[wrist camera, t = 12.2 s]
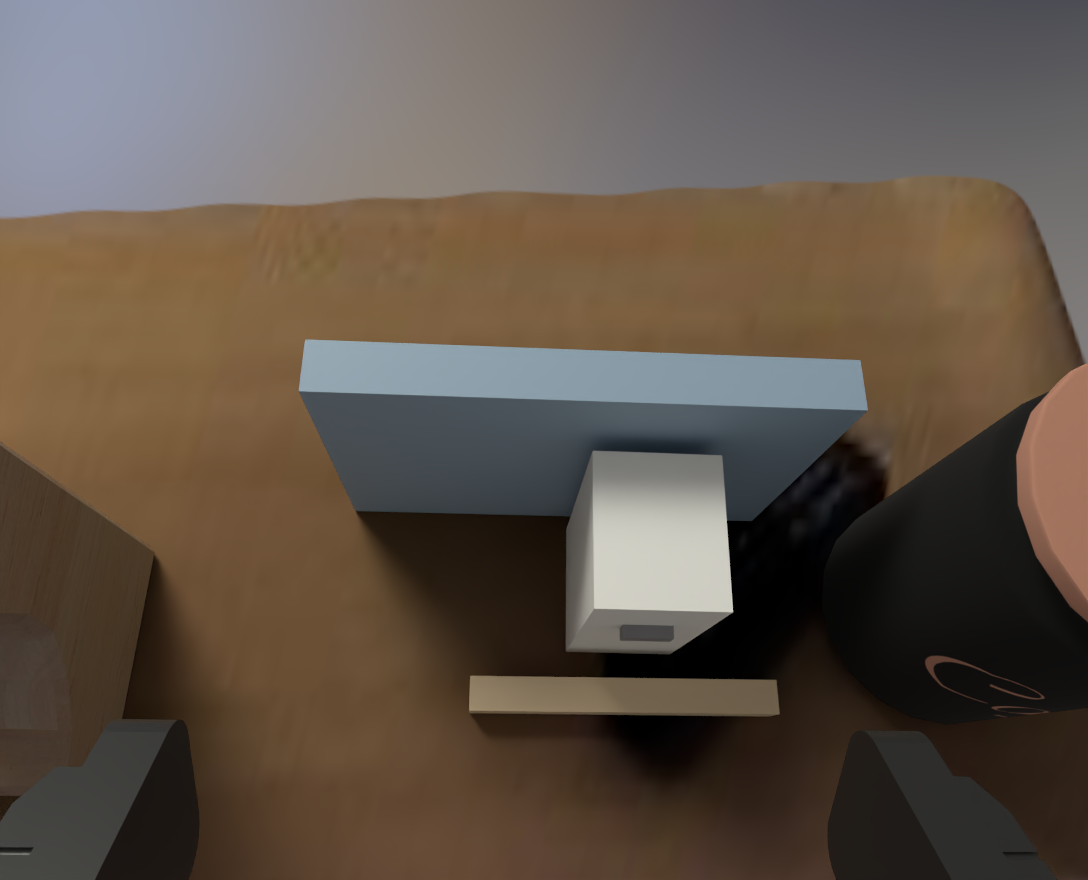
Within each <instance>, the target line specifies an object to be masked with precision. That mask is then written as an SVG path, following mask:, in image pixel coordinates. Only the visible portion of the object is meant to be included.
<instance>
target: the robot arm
mask: <svg viewBox="0 0 1088 880" xmlns="http://www.w3.org/2000/svg"><path fill="white" fill-rule="evenodd" d="M198 837H199V810H198V803H197V795H196V788H195V780H194V773H193V766H192V758H191V751H190V744H189V736H188V731H187V727H186V725H185V723H184V722H183V721H182V720H158V719H115V720H113V721H111V722H110V723H109V724H108V725H107V726H106V727H105V729H104V730H103V732H102V734H101V735H100V737H99V739H98V740H97V742H96V744H95V745H94V747H93V749H92V750H91V752H90V754H89V755H88V757H87V759H86V760H85V762H84V764H83V765H82V767H55V768H54V769H53V770H51V771H50V772H49V773H48V774H47V775H45V776H44V777H43V778H42V779H41V780H40V781H38V782H37V783H36V784H35V785H34V786H32V787H31V788H30V789H29V790H28V791H26V792H25V793H24V794H23V795H22V796H21V797H19V798H18V799H17V800H16V801H15V802H13V803H12V805H11V806H10V808H9V809H8V811H7V812H6V814H5V815H4V817H3V818H2V820H1V821H0V880H188V879H189V877H190V874H191V871H192V867H193V864H194V860H195V856H196V850H197V845H198ZM828 849H829V856H830V861H831V865H832V869H833V872H834V875H835V878H836V880H1057V879H1056V878H1055V876H1054V875H1053V873H1052V872H1051V870H1050V869H1049V867H1048V866H1047V864H1046V863H1045V862H1044V860H1039V858H1038V851H1037V850H1036V849H1035V847H1034V846H1033V844H1032V843H1031V841H1030V840H1029V838H1028V837H1027V836H1026V834H1025V833H1024V831H1023V830H1022V828H1021V827H1020V825H1019V824H1018V823H1017V821H1016V820H1015V818H1014V817H1013V815H1012V814H1011V812H1010V811H1009V810H1008V809H1006V808H1005V807H1004V806H1003V805H1002V804H1001V803H999V802H998V801H997V800H996V799H995V798H994V797H992V796H991V795H990V794H989V793H988V792H987V791H985V790H984V789H983V788H982V787H981V786H980V785H978V784H977V783H976V782H975V781H974V780H973V779H971V778H970V777H956V776H953V775H952V773H951V772H950V770H949V769H948V767H947V766H946V764H945V762H944V761H943V759H942V758H941V756H940V755H939V753H938V752H937V750H936V749H935V747H934V745H933V744H932V742H931V741H930V740H929V738H928V737H927V736H926V735H925V734H923V733H921V732H919V731H871V730H860V731H857V732H855V733H854V734H853V736H852V738H851V740H850V743H849V746H848V750H847V753H846V757H845V761H844V765H843V768H842V772H841V776H840V780H839V783H838V787H837V791H836V795H835V798H834V802H833V806H832V810H831V813H830V817H829V822H828Z"/></svg>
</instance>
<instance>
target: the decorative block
mask: <svg viewBox="0 0 1088 880" xmlns="http://www.w3.org/2000/svg"><path fill="white" fill-rule="evenodd" d="M153 557H154V551H153V550H152V549H151V548H150V547H149V545H148V544H146V543H145V542H143V541H142V540H140V539H139V538H137V537H136V536H135V535H133V534H132V533H130V532H129V531H127V530H126V529H125V528H123V527H122V526H120V525H119V524H117V523H116V522H114V521H113V520H112V519H110V518H109V517H107V516H106V515H104V514H103V513H101V512H100V511H99V510H97V509H96V508H94V507H93V506H92V505H90V504H89V503H87V502H86V501H85V500H83V499H82V498H80V497H79V496H77V495H76V494H75V493H73V492H72V491H70V490H69V489H68V488H66V487H65V486H63V485H62V484H60V483H59V482H58V481H56V480H55V479H53V478H52V477H51V476H49V475H48V474H46V473H45V472H43V471H42V470H40V469H39V468H38V467H36V466H35V465H33V464H32V463H30V462H29V461H28V460H26V459H25V458H23V457H22V456H20V455H19V454H17V453H16V452H15V451H13V450H12V449H10V448H9V447H7V446H6V445H4V444H3V443H2V442H0V796H22V795H23V794H24V793H25V792H26V791H28V790H29V789H30V788H31V787H32V786H34V785H35V784H36V783H37V782H38V781H40V780H41V779H42V778H43V777H44V776H45V775H47V774H48V773H49V772H50V771H51V770H53V769H54V768H55V767H82V765H83V764H84V762H85V760H86V759H87V757H88V755H89V754H90V752H91V750H92V749H93V747H94V745H95V744H96V742H97V740H98V739H99V737H100V735H101V734H102V732H103V730H104V729H105V727H106V726H107V725H108V724H109V723H110V722H111V721H113V720H115V719H122V717H123V712H124V707H125V702H126V697H127V691H128V686H129V681H130V676H131V671H132V666H133V661H134V656H135V651H136V645H137V640H138V635H139V630H140V625H141V619H142V614H143V609H144V604H145V599H146V594H147V588H148V583H149V578H150V573H151V568H152V563H153Z"/></svg>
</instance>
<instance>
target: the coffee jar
mask: <svg viewBox="0 0 1088 880" xmlns="http://www.w3.org/2000/svg"><path fill="white" fill-rule="evenodd" d="M822 607H823V611H824V615H825V619H826V623H827V627H828V631H829V635H830V639H831V641H832V642H833V644H834V646H835V648H836V649H837V651H838V653H839V654H840V656H841V658H842V660H843V661H844V663H845V665H846V667H847V668H848V670H849V671H850V672H851V673H852V674H853V675H854V676H855V677H856V678H857V679H858V680H859V681H860V682H861V683H862V684H863V685H864V686H865V687H866V688H867V689H868V690H869V691H870V692H871V693H872V694H873V695H874V696H875V697H876V698H877V699H879V700H881V701H883V702H885V703H886V704H888V705H890V706H892V707H894V708H896V709H897V710H899V711H901V712H903V713H905V714H907V715H908V716H910V717H914V718H919V719H924V720H929V721H934V722H939V723H943V724H953V723H962V722H970V721H979V720H987V719H996V718H1004V717H1013V716H1022V715H1030V714H1039V713H1047V712H1056V711H1065V710H1073V709H1082V708H1088V363H1087V364H1085V365H1083V366H1080V367H1078V368H1076V369H1074V370H1072V371H1070V372H1069V373H1068V374H1067V375H1066V376H1065V377H1063V378H1062V379H1061V380H1060V381H1059V382H1058V383H1057V384H1056V385H1055V386H1054V387H1053V389H1052V390H1051V391H1049V392H1047V393H1045V394H1043V395H1041V396H1039V397H1036V398H1034V399H1032V400H1030V401H1028V402H1026V403H1024V404H1022V405H1020V406H1019V407H1017V408H1016V409H1014V410H1013V411H1012V412H1010V413H1009V414H1007V415H1006V416H1004V417H1003V418H1001V419H1000V420H999V421H997V422H996V423H994V424H993V425H991V426H990V427H988V428H987V429H986V430H984V431H983V432H981V433H980V434H978V435H977V436H975V437H974V438H973V439H971V440H970V441H968V442H967V443H965V444H964V445H962V446H961V447H960V448H958V449H957V450H955V451H954V452H952V453H951V454H949V455H948V456H947V457H945V458H944V459H942V460H941V461H939V462H938V463H937V464H935V465H934V466H932V467H931V468H929V469H928V470H926V471H925V472H924V473H922V474H921V475H919V476H918V477H916V478H915V479H913V480H912V481H911V482H909V483H908V484H906V485H905V486H903V487H902V488H900V489H899V490H898V491H896V492H895V493H893V494H892V495H890V496H889V497H887V498H886V499H885V500H883V501H882V502H880V503H879V504H877V505H876V506H874V507H873V508H872V509H870V510H869V511H867V512H866V513H864V514H863V515H861V516H860V517H859V518H857V519H856V520H855V521H854V522H853V523H852V524H851V525H850V526H849V528H848V529H847V530H846V531H845V532H844V533H843V534H842V535H841V536H840V537H839V538H838V539H837V540H836V542H835V545H834V547H833V549H832V552H831V554H830V556H829V559H828V561H827V564H826V566H825V568H824V578H823V594H822Z"/></svg>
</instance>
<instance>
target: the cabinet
mask: <svg viewBox="0 0 1088 880" xmlns="http://www.w3.org/2000/svg"><path fill="white" fill-rule="evenodd" d="M731 613H733V602H732V588H731V574H730V559H729V545H728V531H727V516H726V502H725V488H724V473H723V459H722V455H698V454H671V453H644V452H617V451H592V454H591V457H590V460H589V463H588V466H587V469H586V472H585V475H584V478H583V481H582V484H581V487H580V490H579V493H578V496H577V499H576V502H575V505H574V508H573V511H572V514H571V517H570V520H569V523H568V526H567V529H566V652H595V653H638V654H671V653H673V652H674V651H676V650H677V649H679V648H680V647H682V646H683V645H685V644H686V643H688V642H689V641H691V640H692V639H694V638H695V637H697V636H698V635H700V634H701V633H703V632H704V631H706V630H707V629H709V628H710V627H712V626H713V625H715V624H716V623H718V622H719V621H721V620H722V619H724V618H725V617H727V616H728V615H730V614H731Z"/></svg>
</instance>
